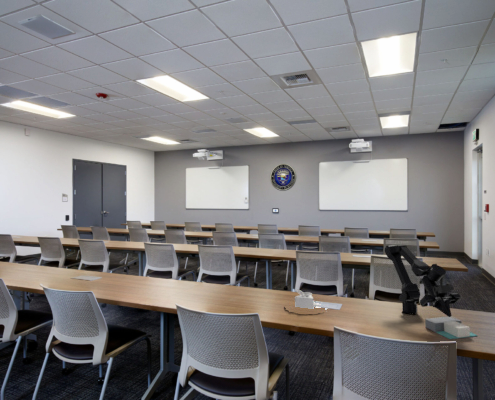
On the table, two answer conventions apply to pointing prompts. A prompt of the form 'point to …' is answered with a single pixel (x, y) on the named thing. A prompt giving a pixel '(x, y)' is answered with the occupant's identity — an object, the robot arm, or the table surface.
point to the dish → (306, 301)
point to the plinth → (438, 323)
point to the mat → (452, 335)
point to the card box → (457, 329)
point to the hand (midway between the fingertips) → (450, 316)
